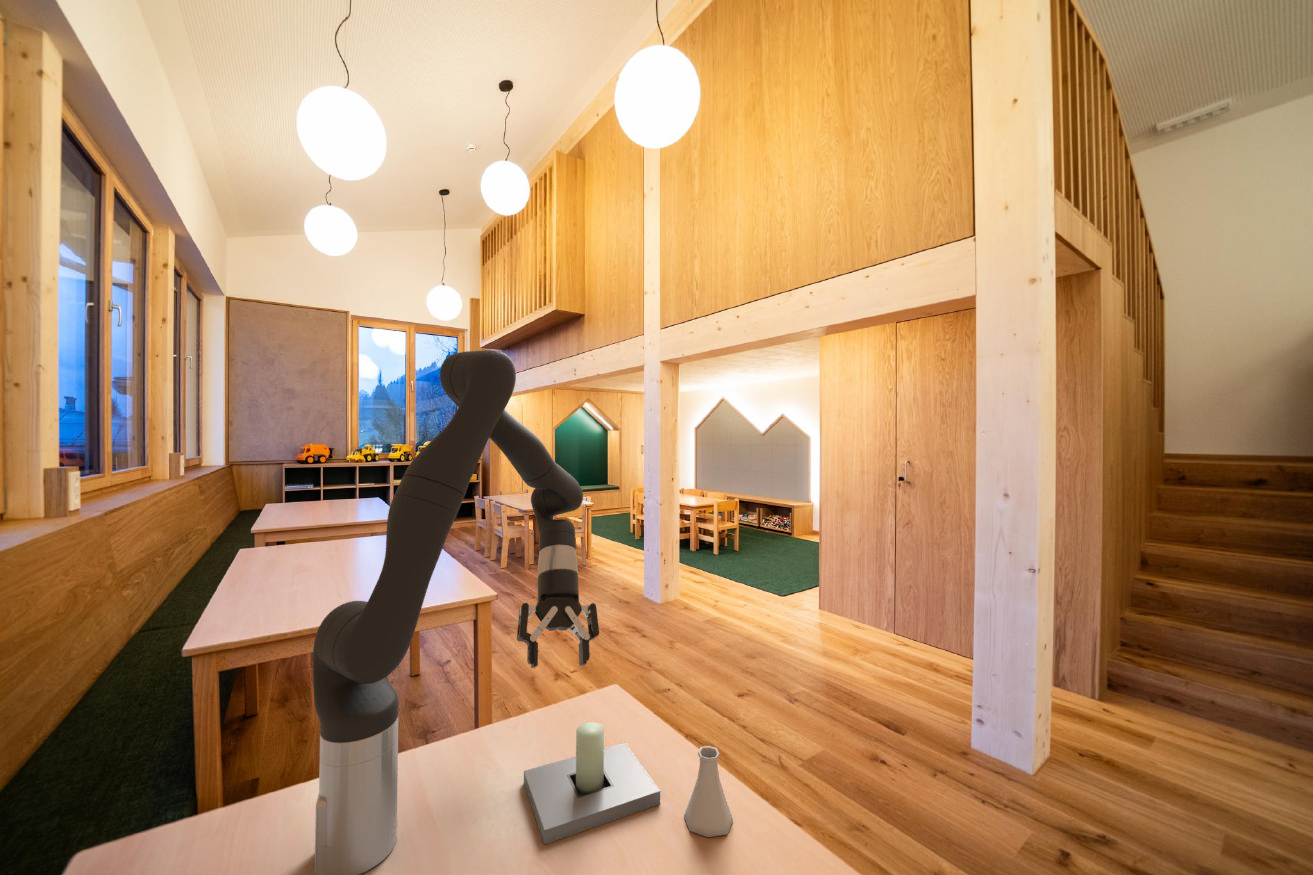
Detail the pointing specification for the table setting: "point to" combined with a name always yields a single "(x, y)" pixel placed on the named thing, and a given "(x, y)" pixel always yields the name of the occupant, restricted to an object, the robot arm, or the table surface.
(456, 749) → the table surface
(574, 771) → the socket plate
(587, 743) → the peg
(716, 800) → the flask
